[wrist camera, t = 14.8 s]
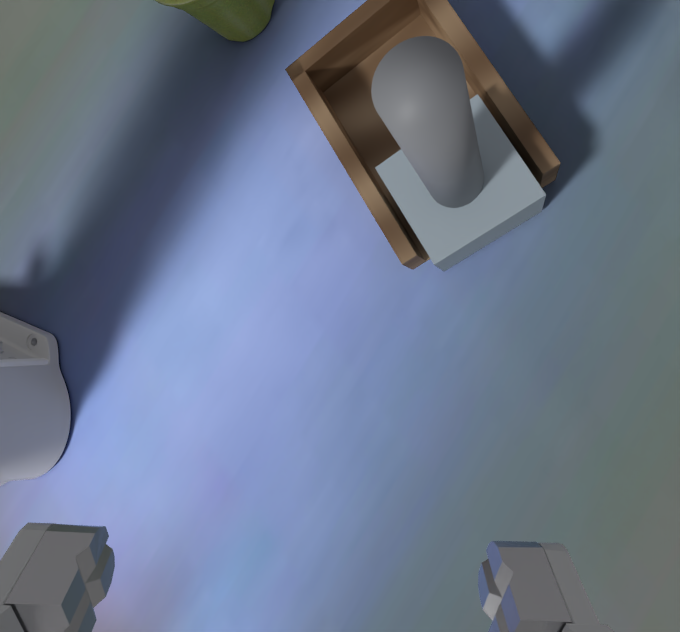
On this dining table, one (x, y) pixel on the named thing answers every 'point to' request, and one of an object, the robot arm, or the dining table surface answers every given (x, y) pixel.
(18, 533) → the robot arm
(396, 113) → the gray post
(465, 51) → the bay
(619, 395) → the dining table surface
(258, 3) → the plant pot
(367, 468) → the dining table surface
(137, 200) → the dining table surface
